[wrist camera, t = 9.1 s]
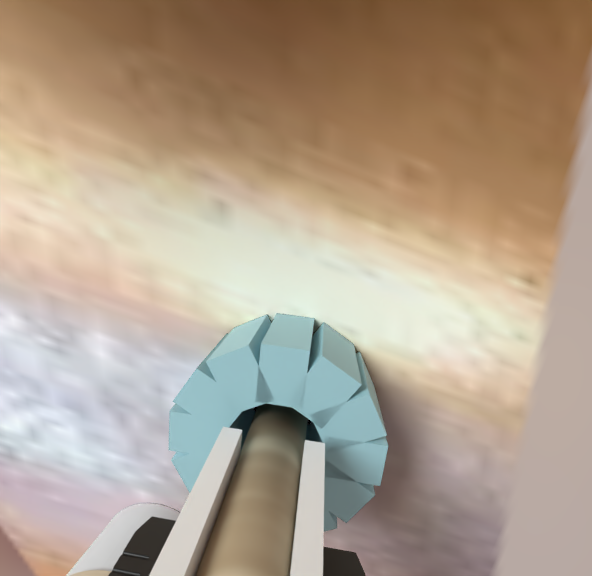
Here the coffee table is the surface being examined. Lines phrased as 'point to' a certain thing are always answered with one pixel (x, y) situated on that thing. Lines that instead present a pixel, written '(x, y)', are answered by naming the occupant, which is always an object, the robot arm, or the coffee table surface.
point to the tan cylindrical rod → (260, 500)
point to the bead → (287, 404)
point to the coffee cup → (117, 538)
